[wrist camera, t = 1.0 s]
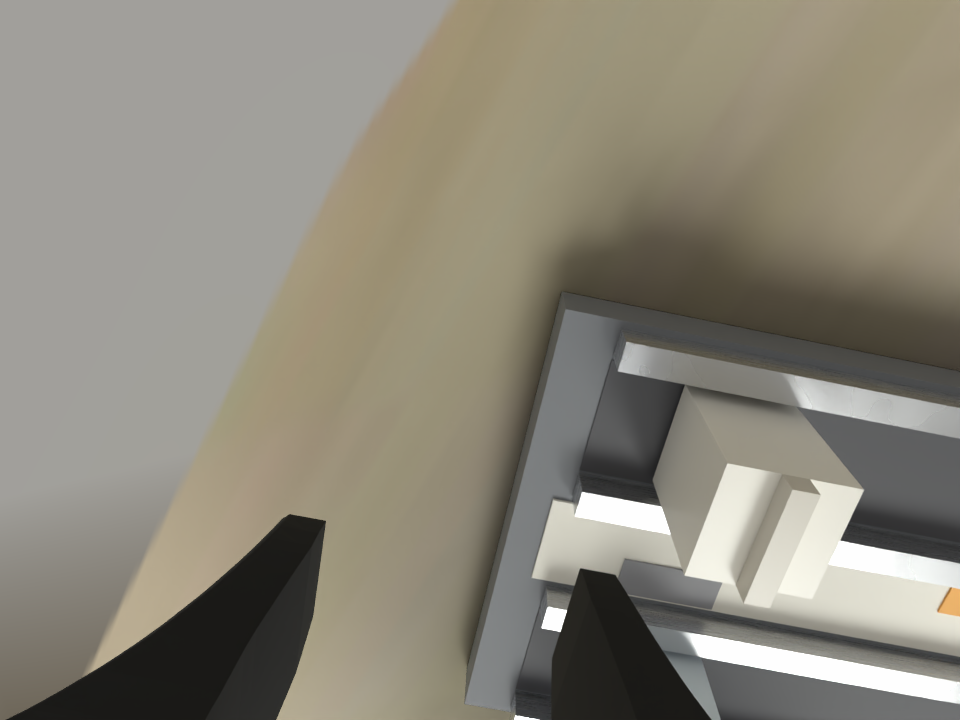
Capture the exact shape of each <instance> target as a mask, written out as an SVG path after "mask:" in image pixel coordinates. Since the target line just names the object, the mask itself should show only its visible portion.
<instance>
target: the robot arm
mask: <svg viewBox="0 0 960 720" xmlns="http://www.w3.org/2000/svg"><path fill="white" fill-rule="evenodd" d="M325 524H326V521H323V520H318V519H313V518H307V517H302V516H296V515H291V514H289V515H288V516H286V517H284V518H283V519H282V520H281V521H280V522H279V523H278V524H277V525H276V526H275V527H274V528H273V529H272V530H271V531H270V532H269V533H268V534H267V535H266V536H265V537H264V538H263V539H262V540H261V541H260V542H259V543H258V544H257V545H256V546H255V547H254V548H253V549H252V550H251V551H250V552H249V553H248V554H247V555H246V556H244V557H243V558H242V559H241V560H240V561H239V562H238V563H237V564H236V565H235V566H233V567H232V568H231V569H230V570H229V571H228V572H227V573H226V574H224V575H223V576H222V577H221V578H220V579H219V580H218V581H216V582H215V583H214V584H213V585H212V586H211V587H210V588H208V589H207V590H206V591H205V592H204V593H202V594H201V595H200V596H199V597H197V598H196V599H195V600H194V601H192V602H191V603H190V604H188V605H187V606H186V607H185V608H183V609H182V610H181V611H179V612H178V613H177V614H176V615H174V616H173V617H172V618H171V619H169V620H168V621H167V622H165V623H164V624H163V625H161V626H160V627H159V628H157V629H156V630H155V631H153V632H152V633H150V634H149V635H148V636H146V637H145V638H143V639H142V640H140V641H139V642H138V643H136V644H135V645H133V646H132V647H130V648H129V649H127V650H126V651H124V652H123V653H121V654H120V655H118V656H117V657H115V658H114V659H112V660H111V661H109V662H108V663H106V664H104V665H103V666H101V667H100V668H98V669H96V670H95V671H93V672H91V673H90V674H88V675H86V676H85V677H83V678H81V679H80V680H78V681H76V682H75V683H73V684H71V685H69V686H68V687H66V688H64V689H63V690H61V691H59V692H58V693H56V694H54V695H52V696H50V697H49V698H47V699H45V700H43V701H42V702H40V703H38V704H36V705H34V706H32V707H30V708H29V709H27V710H25V711H23V712H21V713H19V714H17V715H15V716H13V717H11V718H9V719H7V720H276V719H277V716H278V714H279V712H280V709H281V707H282V705H283V702H284V700H285V698H286V695H287V693H288V690H289V688H290V686H291V683H292V681H293V678H294V676H295V674H296V671H297V667H298V664H299V661H300V658H301V654H302V651H303V648H304V645H305V641H306V638H307V635H308V631H309V628H310V625H311V621H312V618H313V613H314V606H315V598H316V591H317V583H318V576H319V569H320V561H321V554H322V546H323V539H324V532H325ZM551 720H712V719H711V718H710V717H709V715H708V714H707V713H706V712H705V710H704V709H703V708H702V706H701V705H700V704H699V702H698V701H697V700H696V698H695V697H694V696H693V694H692V693H691V691H690V690H689V689H688V687H687V686H686V684H685V683H684V682H683V680H682V679H681V677H680V676H679V674H678V673H677V671H676V670H675V668H674V667H673V665H672V664H671V662H670V661H669V659H668V658H667V656H666V655H665V653H664V652H663V650H662V649H661V647H660V646H659V644H658V642H657V641H656V639H655V638H654V636H653V635H652V633H651V631H650V630H649V628H648V627H647V625H646V623H645V622H644V620H643V619H642V617H641V615H640V614H639V612H638V610H637V609H636V607H635V606H634V604H633V602H632V601H631V599H630V597H629V596H628V594H627V592H626V591H625V589H624V588H623V586H622V584H621V583H620V581H619V580H618V578H617V577H616V575H615V574H609V573H604V572H598V571H593V570H588V569H582V568H580V570H579V573H578V576H577V579H576V583H575V586H574V589H573V592H572V595H571V599H570V602H569V605H568V608H567V612H566V615H565V618H564V621H563V624H562V628H561V631H560V634H559V637H558V641H557V644H556V647H555V650H554V653H553V657H552V677H551Z"/></svg>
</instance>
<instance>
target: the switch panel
mask: <svg viewBox="0 0 960 720" xmlns="http://www.w3.org/2000/svg"><path fill="white" fill-rule="evenodd" d="M685 385H690V386H695V387H700V388H705V389H710V390H715V391H720V392H725V393H730V394H735V395H741V396H746V397H751V398H756V399H761V400H766V401H771V402H776V403H781V404H786V405H791V406H796V407H797V408H798V409H799V410H800V412H801V413H802V414H803V415H804V417H805V418H806V419H807V420H808V421H809V423H810V424H811V425H812V426H813V428H814V429H815V430H816V431H817V432H818V434H819V435H820V436H821V437H822V439H823V440H824V441H825V442H826V443H827V445H828V446H829V447H830V448H831V450H832V451H833V452H834V453H835V455H836V456H837V457H838V458H839V459H840V461H841V462H842V463H843V464H844V466H845V467H846V468H847V469H848V470H849V472H850V473H851V474H852V475H853V477H854V478H855V479H856V480H857V481H858V483H859V484H860V485H861V486H862V488H863V489H864V491H863V493H862V496H861V498H860V500H859V502H858V504H857V506H856V508H855V510H854V512H853V514H852V516H851V519H850V521H849V523H848V525H847V527H846V529H845V531H844V533H843V535H842V537H841V540H840V542H839V544H838V546H837V548H836V550H835V552H834V554H833V556H832V558H831V560H830V563H829V565H828V567H827V569H826V571H825V573H824V575H823V577H822V579H821V581H820V584H819V586H818V588H817V590H816V592H815V594H814V596H813V598H812V599H807V598H802V597H797V596H791V595H786V594H781V593H777V594H776V596H775V598H774V600H773V603H772V605H771V607H770V608H765V607H759V606H754V605H749V604H743V601H742V599H741V597H740V594H739V592H738V589H737V587H736V585H732V584H727V583H721V582H716V581H711V580H705V579H700V578H695V577H689V576H684V573H683V570H682V567H681V564H680V561H679V558H678V555H677V552H676V549H675V546H674V543H673V540H672V537H671V534H670V531H669V528H668V525H667V522H666V519H665V516H664V513H663V510H662V507H661V504H660V501H659V498H658V495H657V492H656V489H655V486H654V483H653V477H654V474H655V471H656V468H657V465H658V462H659V460H660V457H661V454H662V451H663V448H664V445H665V442H666V439H667V436H668V433H669V430H670V427H671V424H672V421H673V418H674V415H675V412H676V409H677V407H678V404H679V401H680V398H681V395H682V392H683V389H684V386H685ZM580 568H582V569H588V570H593V571H598V572H604V573H609V574H615V575H616V577H617V578H618V580H619V581H620V583H621V584H622V586H623V588H624V589H625V591H626V592H627V594H628V596H629V597H630V599H631V601H632V602H633V604H634V606H635V607H636V609H637V610H638V612H639V614H640V615H641V617H642V619H643V620H644V622H645V623H646V625H647V627H648V628H649V630H650V631H651V633H652V635H653V636H654V638H655V639H656V641H657V642H658V644H659V646H660V647H661V649H662V650H665V651H670V652H676V653H681V654H687V655H692V656H698V657H701V659H702V662H703V665H704V668H705V672H706V675H707V678H708V681H709V684H710V687H711V690H712V694H713V697H714V700H715V703H716V706H717V709H718V713H719V716H720V719H721V720H960V371H955V370H950V369H945V368H940V367H935V366H930V365H925V364H920V363H915V362H910V361H905V360H900V359H895V358H890V357H885V356H880V355H875V354H870V353H865V352H860V351H855V350H850V349H845V348H840V347H835V346H830V345H825V344H821V343H816V342H811V341H806V340H801V339H796V338H791V337H786V336H781V335H776V334H771V333H766V332H761V331H756V330H751V329H746V328H741V327H736V326H731V325H726V324H721V323H716V322H711V321H706V320H701V319H696V318H691V317H686V316H681V315H676V314H671V313H666V312H661V311H656V310H651V309H646V308H641V307H636V306H631V305H626V304H621V303H616V302H611V301H606V300H601V299H596V298H591V297H587V296H582V295H577V294H572V293H567V292H562V293H561V297H560V301H559V305H558V309H557V313H556V317H555V321H554V325H553V329H552V333H551V337H550V341H549V344H548V348H547V352H546V356H545V360H544V364H543V368H542V372H541V376H540V380H539V384H538V388H537V392H536V396H535V400H534V404H533V408H532V412H531V416H530V420H529V424H528V428H527V432H526V436H525V440H524V444H523V448H522V452H521V456H520V460H519V464H518V468H517V472H516V476H515V480H514V484H513V488H512V492H511V495H510V499H509V503H508V507H507V511H506V515H505V519H504V523H503V527H502V531H501V535H500V539H499V543H498V547H497V551H496V555H495V559H494V563H493V567H492V571H491V575H490V579H489V583H488V587H487V591H486V595H485V599H484V603H483V607H482V611H481V615H480V619H479V623H478V627H477V631H476V635H475V639H474V643H473V646H472V650H471V654H470V658H469V662H468V666H467V675H466V689H465V703H464V704H468V705H473V706H479V707H485V708H490V709H496V710H502V711H507V712H510V720H551V677H552V657H553V653H554V650H555V647H556V644H557V641H558V637H559V634H560V631H561V628H562V624H563V621H564V618H565V615H566V612H567V608H568V605H569V602H570V599H571V595H572V592H573V589H574V586H575V583H576V579H577V576H578V573H579V570H580Z"/></svg>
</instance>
